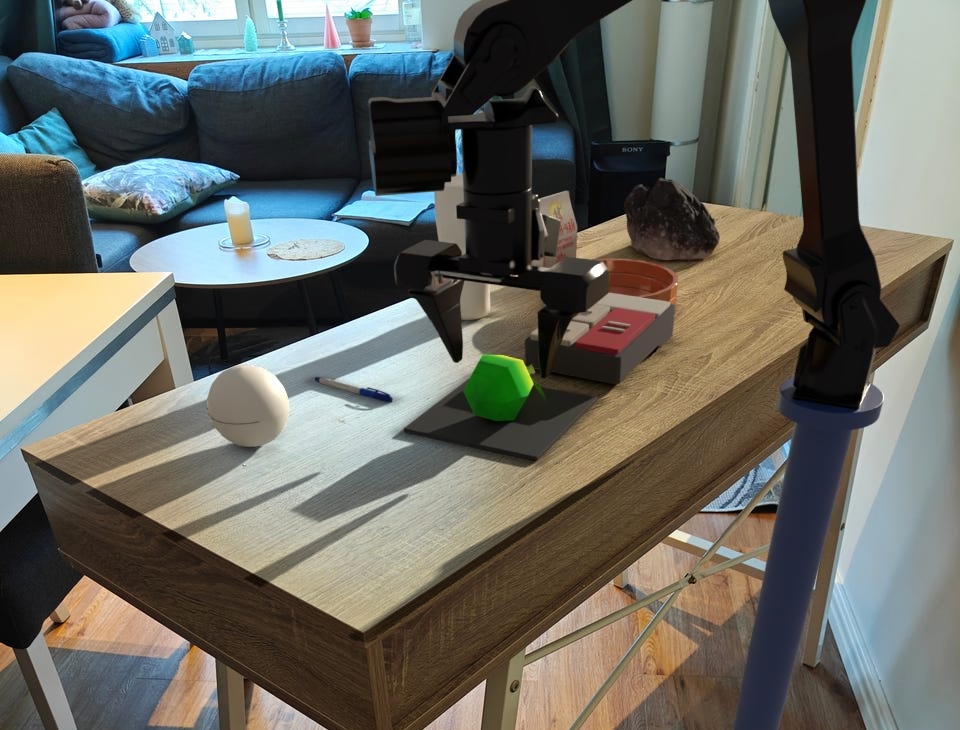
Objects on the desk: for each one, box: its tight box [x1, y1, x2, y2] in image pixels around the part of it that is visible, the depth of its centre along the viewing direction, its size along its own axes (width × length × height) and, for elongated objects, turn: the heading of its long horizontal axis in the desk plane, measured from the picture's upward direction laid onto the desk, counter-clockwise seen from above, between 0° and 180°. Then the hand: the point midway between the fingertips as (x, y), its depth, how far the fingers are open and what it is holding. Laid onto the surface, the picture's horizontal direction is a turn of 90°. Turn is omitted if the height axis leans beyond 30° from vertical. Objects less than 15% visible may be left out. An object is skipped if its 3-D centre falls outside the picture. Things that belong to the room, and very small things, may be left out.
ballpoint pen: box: [314, 376, 394, 403], centre depth 92 cm, size 10×1×1 cm, turn 56°
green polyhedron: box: [463, 353, 547, 421], centre depth 85 cm, size 7×6×9 cm
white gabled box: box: [532, 190, 578, 268], centre depth 117 cm, size 4×7×10 cm, turn 136°
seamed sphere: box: [193, 363, 290, 448], centre depth 81 cm, size 10×7×7 cm
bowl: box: [594, 258, 679, 306], centre depth 109 cm, size 16×16×4 cm
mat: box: [403, 377, 598, 462], centre depth 87 cm, size 14×14×1 cm
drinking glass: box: [433, 172, 491, 321], centre depth 105 cm, size 7×7×15 cm
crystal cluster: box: [623, 177, 721, 261], centre depth 125 cm, size 13×14×10 cm
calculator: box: [524, 293, 676, 385], centre depth 96 cm, size 11×4×15 cm
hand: (500, 368), depth 84 cm, fingers open, 9 cm apart
